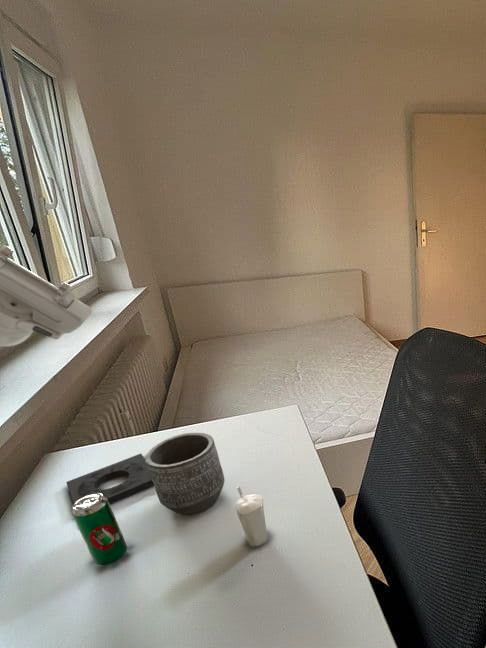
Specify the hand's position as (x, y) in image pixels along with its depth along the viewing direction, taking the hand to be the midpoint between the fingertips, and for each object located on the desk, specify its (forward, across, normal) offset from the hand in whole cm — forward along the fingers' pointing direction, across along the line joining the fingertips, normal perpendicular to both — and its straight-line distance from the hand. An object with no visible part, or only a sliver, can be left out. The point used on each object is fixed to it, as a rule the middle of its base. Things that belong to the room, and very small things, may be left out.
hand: (37, 268), depth 75 cm
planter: (-6, +44, +23) cm, 51 cm away
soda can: (-8, +35, +37) cm, 51 cm away
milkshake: (+11, +51, +30) cm, 60 cm away
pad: (-26, +33, +21) cm, 47 cm away
